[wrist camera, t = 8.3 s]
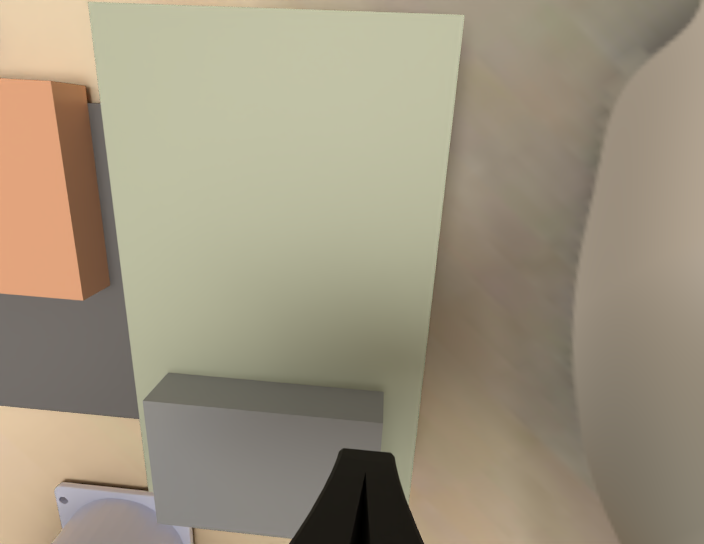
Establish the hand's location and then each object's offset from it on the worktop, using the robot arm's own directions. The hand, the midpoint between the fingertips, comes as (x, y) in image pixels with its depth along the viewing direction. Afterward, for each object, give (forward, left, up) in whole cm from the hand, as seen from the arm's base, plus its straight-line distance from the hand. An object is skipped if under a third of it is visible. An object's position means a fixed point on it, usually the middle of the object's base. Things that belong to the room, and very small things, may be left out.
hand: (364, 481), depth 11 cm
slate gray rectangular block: (-4, +4, -6) cm, 9 cm away
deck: (+2, +4, -10) cm, 11 cm away
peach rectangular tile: (+5, +16, -8) cm, 19 cm away
